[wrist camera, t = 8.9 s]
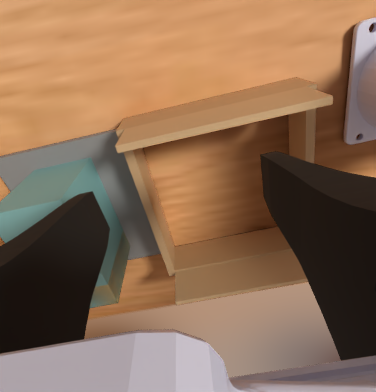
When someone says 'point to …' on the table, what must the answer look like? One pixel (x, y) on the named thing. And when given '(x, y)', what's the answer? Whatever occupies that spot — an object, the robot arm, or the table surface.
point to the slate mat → (109, 174)
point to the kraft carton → (236, 244)
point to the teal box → (53, 198)
